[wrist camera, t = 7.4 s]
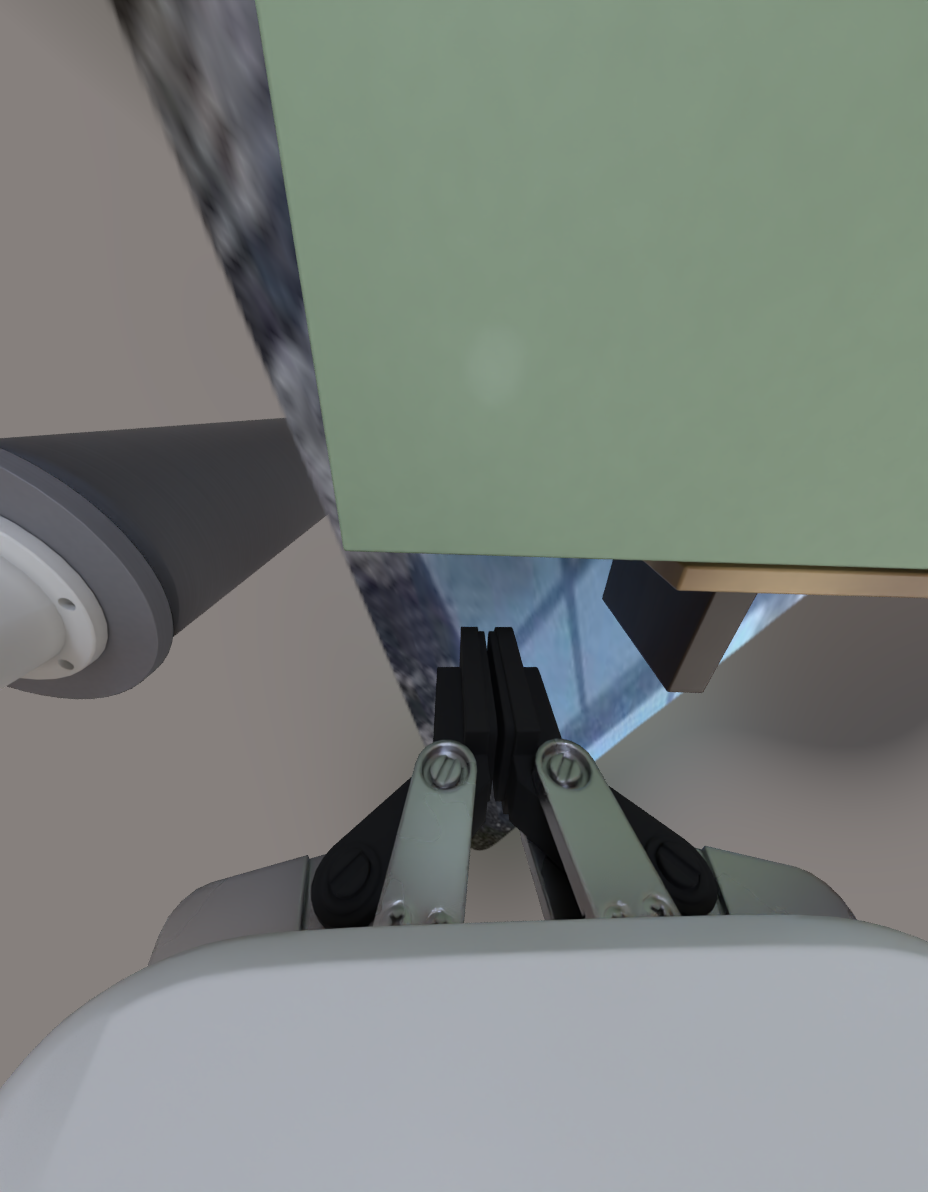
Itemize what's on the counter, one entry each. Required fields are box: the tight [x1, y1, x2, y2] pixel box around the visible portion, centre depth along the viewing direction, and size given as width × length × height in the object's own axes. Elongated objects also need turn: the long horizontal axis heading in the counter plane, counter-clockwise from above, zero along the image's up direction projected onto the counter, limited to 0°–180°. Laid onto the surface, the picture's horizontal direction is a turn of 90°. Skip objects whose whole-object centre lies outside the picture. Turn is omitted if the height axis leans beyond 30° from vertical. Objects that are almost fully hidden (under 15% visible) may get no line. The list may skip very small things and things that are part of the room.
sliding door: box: [602, 559, 928, 693], centre depth 14 cm, size 9×5×11 cm, turn 88°
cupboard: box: [255, 0, 928, 569], centre depth 10 cm, size 18×13×12 cm
